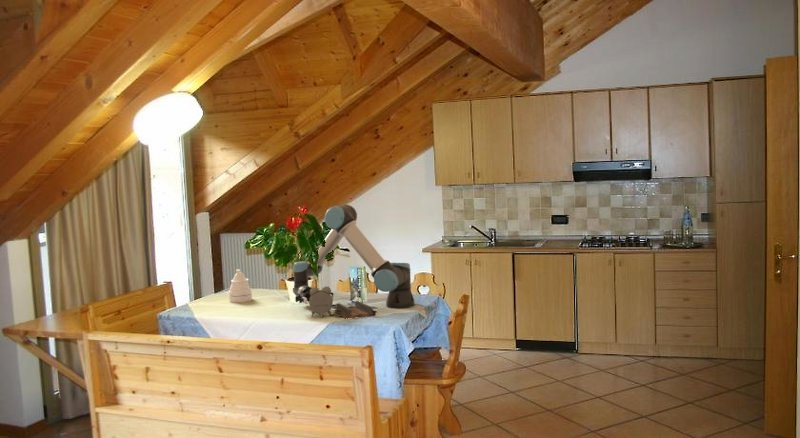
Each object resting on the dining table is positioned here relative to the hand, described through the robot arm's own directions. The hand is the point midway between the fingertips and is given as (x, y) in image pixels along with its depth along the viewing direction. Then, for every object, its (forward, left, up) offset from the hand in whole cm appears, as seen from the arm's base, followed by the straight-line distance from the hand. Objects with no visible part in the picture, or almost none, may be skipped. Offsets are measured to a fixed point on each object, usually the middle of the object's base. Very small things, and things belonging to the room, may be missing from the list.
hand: (319, 299), depth 347 cm
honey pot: (+26, -68, -9) cm, 73 cm away
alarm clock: (0, +2, -9) cm, 9 cm away
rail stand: (-16, +5, -8) cm, 19 cm away
